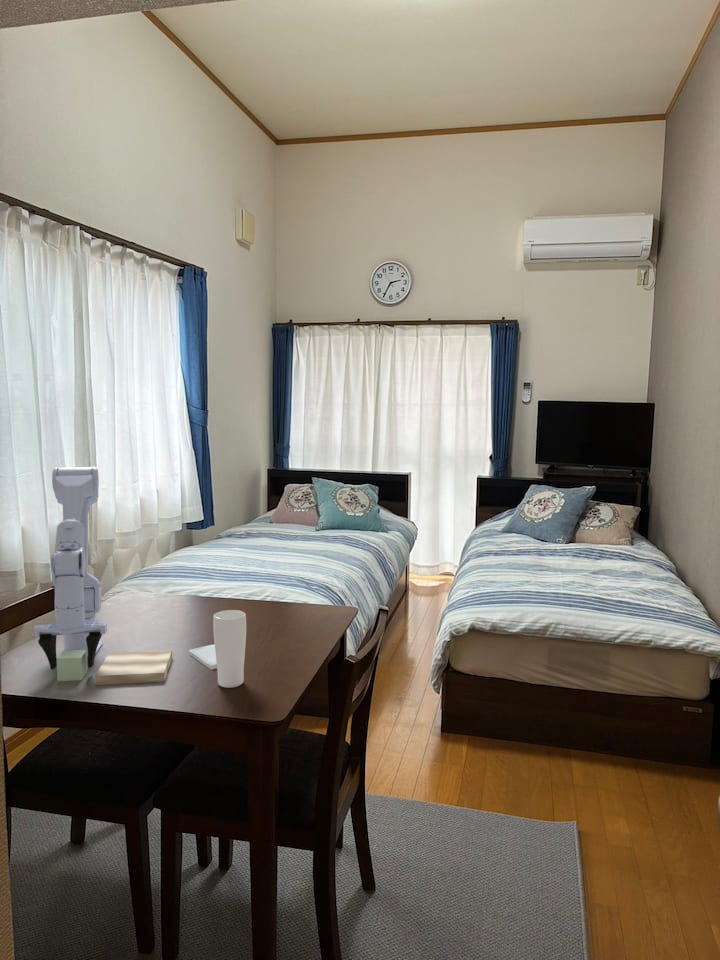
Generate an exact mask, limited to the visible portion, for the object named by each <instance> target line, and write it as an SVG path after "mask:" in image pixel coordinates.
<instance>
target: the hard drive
mask: <svg viewBox="0 0 720 960" xmlns="http://www.w3.org/2000/svg"><path fill="white" fill-rule="evenodd" d="M188 655H190V656H191V657H192V658H194V659H195V660H197V661H198V662H199V663H201V664H202V665H204V666H205V667H207V668H208V669H209V670H217V662H216V653H215V644H209V645H208V644H207V645H205V646H199V647H195V648H192V649H189V650H188Z"/></svg>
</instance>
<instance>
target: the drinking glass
mask: <svg viewBox="0 0 720 960" xmlns="http://www.w3.org/2000/svg"><path fill="white" fill-rule="evenodd" d="M212 623H213V624H212V626H213V629H212V630H213V641H214V642H213V643H214V644H215V653H216V662H217V669H216V670H217V683H218V685H219V686H220V687H222V688H226V689H229V688H230V689H232V688H237V687H239V686H241V685H242V684H243V683H244V679H245V678H244V672H245V671H244V669H245V658H246V657H245V656H246V645H247V644H246V642H247V615H246V613H245V612H244V611H241V610H236V609H234V610H233V609H229V610H227V609H226V610H221V611H218V612H216V613H214V614H213V622H212Z"/></svg>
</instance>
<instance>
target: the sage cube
mask: <svg viewBox="0 0 720 960" xmlns="http://www.w3.org/2000/svg"><path fill="white" fill-rule="evenodd" d="M60 653H61V654H59V655H58V656H57V666H56V674H57V676H56V677H57V678H56V679H57V682H65V681H66V682H67V681H82V680H83V679H84V677H85V676H86V675H87V673H88V670H89V668H88V657H87V650H65V651H63V650H62V651H61V652H60Z"/></svg>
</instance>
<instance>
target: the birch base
mask: <svg viewBox="0 0 720 960" xmlns="http://www.w3.org/2000/svg"><path fill="white" fill-rule="evenodd" d="M172 661H173V649H163V650H162V649H161V650H160V649H159V650H139V651H138V650H137V651H121V652H119V651H116V652H108V654H107V656H106V657H105V659H104V661H103V662H102V664H101V666H100V667H99V669H98V670H97V672H96V674H95V675H94V679H95V680H94V681H95V682H94V683H95V684H94V685H95V686H107V685H123V684H124V685H126V684H127V685H128V684H145V683H146V684H147V683H164V682H165V681H166V678H167V675H168V673H169V669H170V666H171V663H172Z"/></svg>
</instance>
